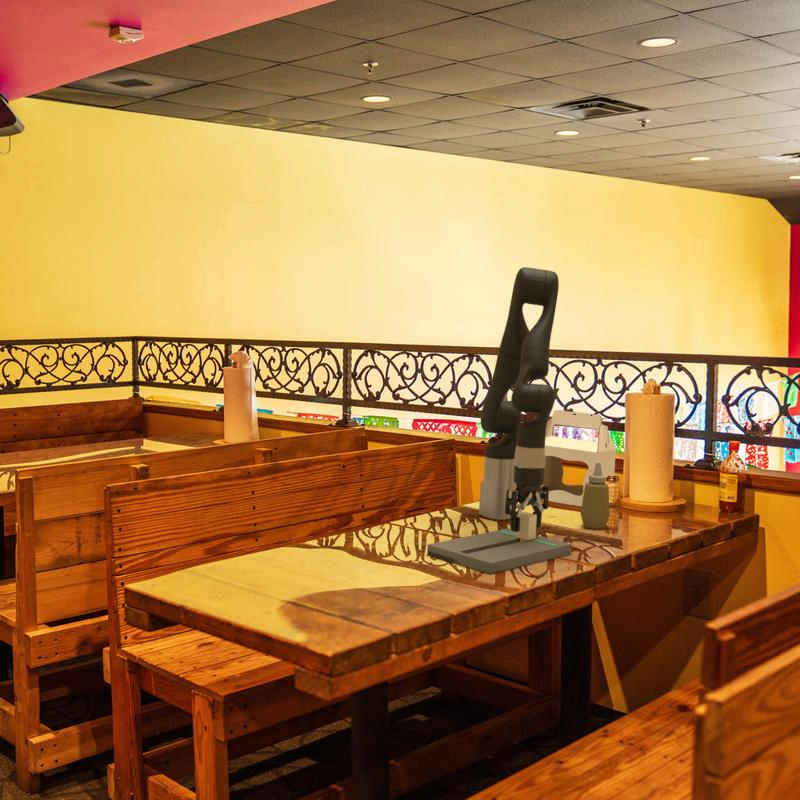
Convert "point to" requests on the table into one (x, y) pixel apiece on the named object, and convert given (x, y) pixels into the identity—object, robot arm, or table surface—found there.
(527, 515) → the fader tab
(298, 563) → the table surface
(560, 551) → the panel
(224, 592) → the table surface
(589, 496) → the squeeze bottle
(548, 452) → the gable box
